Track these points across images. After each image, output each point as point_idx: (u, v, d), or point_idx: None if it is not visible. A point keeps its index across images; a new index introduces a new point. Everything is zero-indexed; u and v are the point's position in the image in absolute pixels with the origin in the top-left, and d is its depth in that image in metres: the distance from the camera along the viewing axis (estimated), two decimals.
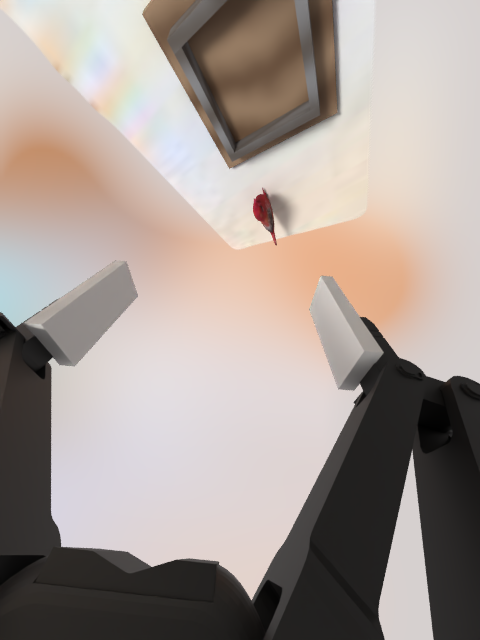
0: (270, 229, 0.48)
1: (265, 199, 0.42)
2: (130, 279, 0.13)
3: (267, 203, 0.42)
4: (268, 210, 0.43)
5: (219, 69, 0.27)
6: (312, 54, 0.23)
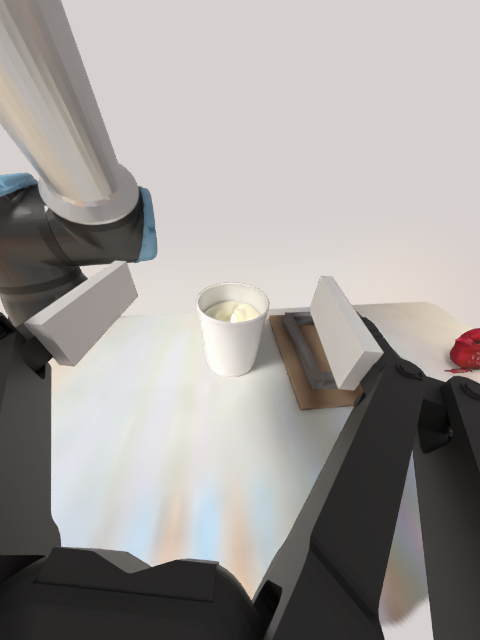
0: None
1: None
2: (130, 279, 0.13)
3: None
4: None
5: None
6: None
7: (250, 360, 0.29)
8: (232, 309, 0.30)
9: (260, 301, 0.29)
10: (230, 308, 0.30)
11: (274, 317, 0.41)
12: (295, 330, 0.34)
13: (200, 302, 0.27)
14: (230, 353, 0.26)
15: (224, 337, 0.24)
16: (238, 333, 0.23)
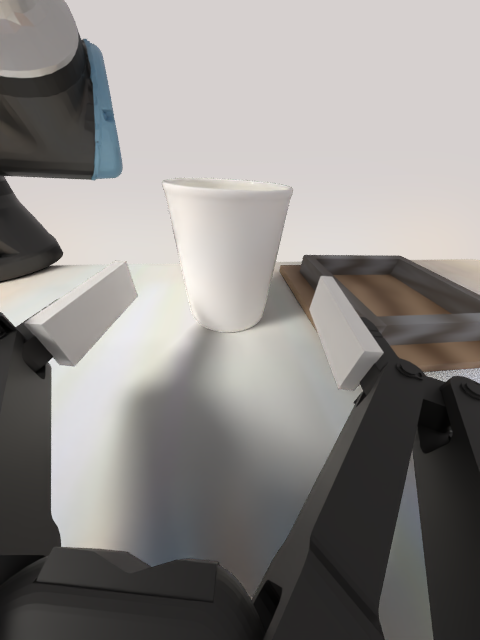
0: None
1: None
2: (130, 279, 0.13)
3: None
4: None
5: None
6: (362, 256, 0.28)
7: (257, 300, 0.18)
8: None
9: None
10: None
11: (287, 266, 0.30)
12: (322, 271, 0.23)
13: None
14: (225, 277, 0.15)
15: (212, 235, 0.13)
16: (239, 223, 0.12)
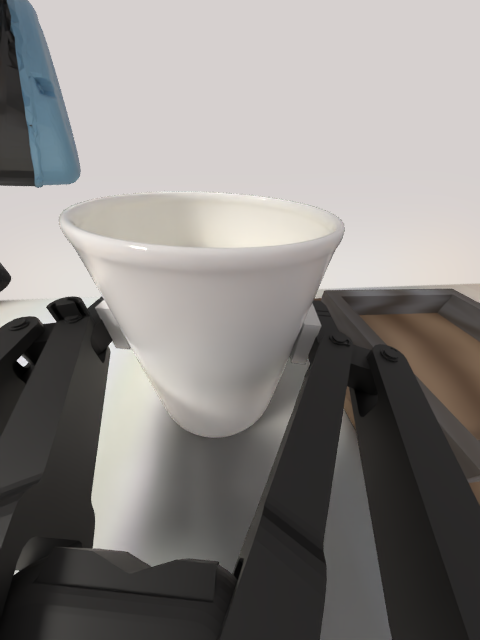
0: None
1: None
2: None
3: None
4: None
5: (464, 409, 0.13)
6: (402, 290, 0.21)
7: (265, 398, 0.10)
8: None
9: (294, 237, 0.10)
10: None
11: None
12: (356, 322, 0.16)
13: (116, 228, 0.09)
14: (204, 389, 0.08)
15: (169, 334, 0.06)
16: (228, 315, 0.05)
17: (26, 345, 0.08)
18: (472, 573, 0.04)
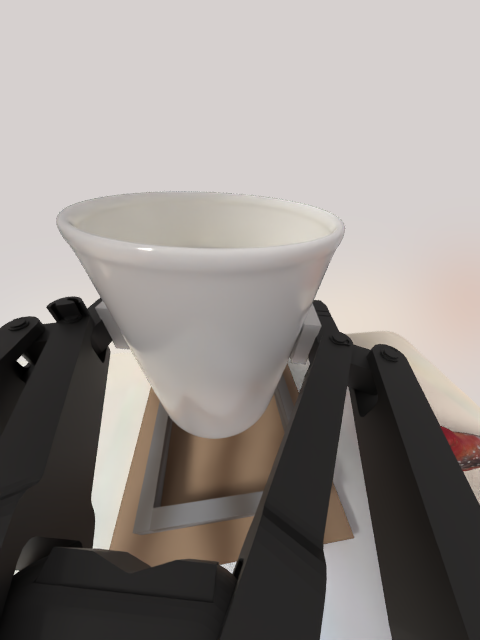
0: None
1: None
2: None
3: None
4: None
5: (209, 472, 0.19)
6: None
7: (265, 399, 0.10)
8: None
9: (294, 237, 0.10)
10: None
11: None
12: None
13: (115, 228, 0.09)
14: (203, 391, 0.08)
15: (168, 335, 0.06)
16: (227, 317, 0.05)
17: (26, 345, 0.08)
18: (472, 573, 0.04)
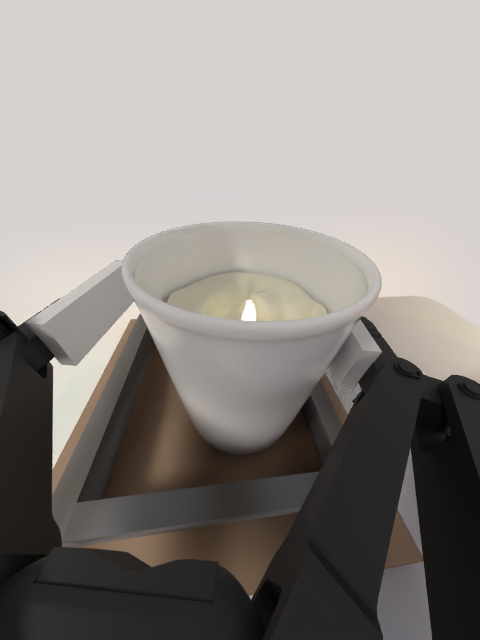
0: None
1: None
2: None
3: None
4: None
5: (186, 450, 0.13)
6: None
7: (290, 422, 0.11)
8: (246, 291, 0.13)
9: (322, 267, 0.11)
10: (241, 288, 0.13)
11: None
12: (125, 353, 0.16)
13: (157, 263, 0.09)
14: (238, 420, 0.08)
15: (216, 379, 0.06)
16: (272, 368, 0.06)
17: None
18: None
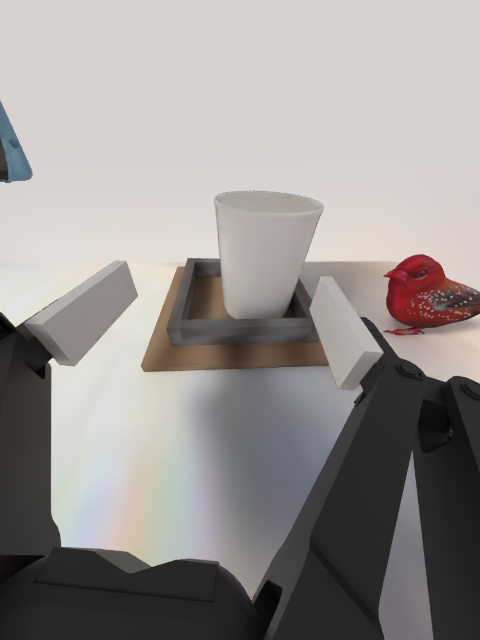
0: None
1: None
2: (130, 279, 0.13)
3: None
4: None
5: None
6: None
7: (282, 300, 0.20)
8: None
9: None
10: None
11: (182, 268, 0.32)
12: (185, 275, 0.26)
13: None
14: (256, 279, 0.18)
15: (251, 245, 0.16)
16: (273, 237, 0.15)
17: None
18: None
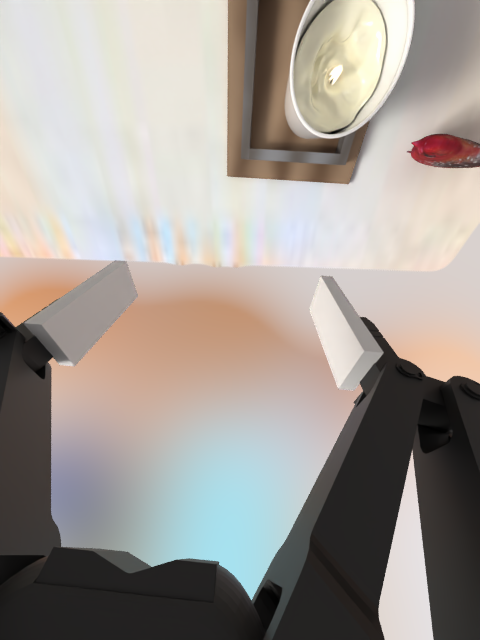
0: None
1: None
2: (130, 279, 0.13)
3: None
4: None
5: (281, 129, 0.28)
6: None
7: None
8: (351, 28, 0.18)
9: (397, 48, 0.17)
10: (349, 24, 0.18)
11: None
12: (248, 43, 0.22)
13: None
14: (308, 136, 0.24)
15: (307, 132, 0.21)
16: None
17: None
18: None
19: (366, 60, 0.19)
